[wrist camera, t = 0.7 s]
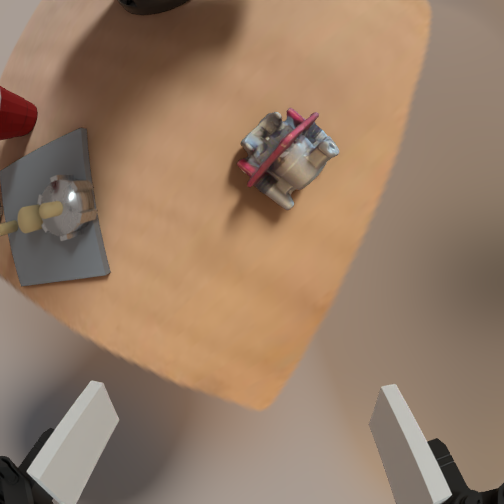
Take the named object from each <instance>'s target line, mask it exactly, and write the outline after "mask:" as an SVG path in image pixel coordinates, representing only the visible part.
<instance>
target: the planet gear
mask: <svg viewBox="0 0 504 504" xmlns="http://www.w3.org/2000/svg"><path fill="white" fill-rule="evenodd" d="M1 215H3V207H1V204H0V220H1Z"/></svg>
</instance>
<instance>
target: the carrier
mask: <svg viewBox="0 0 504 504" xmlns="http://www.w3.org/2000/svg"><path fill="white" fill-rule="evenodd" d="M56 175H74V179H78V180H81V181H84V180H89V181H90V182H91V184H92V178H91V170H90V162H89V152H88V142H87V129H84V128H79V129H77V130H75V131H73V132H70V133H68V134H66V135H64V136H62V137H60V138H58V139H56V140H54V141H52V142H50V143H48V144H46V145H44V146H42V147H40V148H38V149H37V150H35V151H33V152H31V153H29V154H28V155H26V156H24V157H22V158H21V159H19V160H17V161H16V162H14V163H12V164H11V165H9V166H7V167H6V168H4V169H3V170H1V171H0V181H1V191H2V200H3V207H4V214H5V220H6V223H2V224H0V236H2V235H6V234H8V237H9V241H10V246H11V250H12V255H13V259H14V263H15V266H16V270H17V274H18V277H19V281H20V284H21V286H28V285H36V284H43V283H51V282H59V281H66V280H74V279H81V278H89V277H96V276H104V275H107V274H108V273H110V268H109V264H108V260H107V256H106V252H105V248H104V244H103V239H102V235H101V230H100V225H99V220H98V215H96V219H95V220H92V221H90V222H89V224H88V225H87V226H86V227H85V228H83V229H82V230H83V234H82V235H79V236H76V237H73V238H71V239H68V240H64V241H61V240H60V236H56V235H54V234H52V233H51V232H48V233H45V231H44V230H43V228H42V226H41V225H42V224H43V220H42V218H43V219H47V218H51V217H55V216H59V215H61V214H62V211H63V206H62V203H61V202H60V201H54V202H48V203H43V204H41V205H39V204H37V203H38V198H39V194H43V192H44V190H45V188H46V187H47V186H48V185H49V184H50V183H51V182H50V178H51V177H53V176H56ZM91 192H92V195H93V199H94V209H96V204H95V198H94V191H93V189H92V190H91Z"/></svg>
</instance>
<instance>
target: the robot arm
mask: <svg viewBox="0 0 504 504" xmlns="http://www.w3.org/2000/svg"><path fill="white" fill-rule="evenodd" d="M118 1H119V3H120V4H121V5H122V6H123V7H124V8H125V9H126V10H127V11H128V12H131V13H133V14H139V15H148V14H155V13H160V12H163V11H167V10H169V9H172V8H175V7H177V6H179V5H181V4H183V3H185V2H186V1H188V0H118ZM118 421H119V418H118V416H117V414H116V412H115V409H114V407H113V405H112V403H111V401H110V398H109V396H108V393H107V391H106V389H105V386H104V384H103V383H101V382H96V381H91V382H90V383H89V384H88V385H87V387H86V388H85V390H84V391H83V392H82V393H81V395H80V396H79V397H78V399H77V400H76V401H75V403H74V404H73V406H72V407H71V408H70V410H69V411H68V412H67V414H66V415H65V417H64V418H63V419H62V421H61V422H60V423H59V425H58V426H57V427H56V429H52V428H50V429H48V430H47V431H45V432H44V433H43V434H42V435H41V437H40V438H39V440H38V442H36V444H35V445H34V447H33V448H32V449H31V451H30V452H29V454H28V455H27V456H26V458H25V459H24V461H23V462H22V464H21V465H20V466H19V467H18V468H17V467H16V466H15V464H14V463H13V462H12V461H11V460H10V459H9V458H8V457H5V456H0V504H53V502H52V499H53V498H54V499H55V500H56V501H57V502H58V503H59V504H76V503H77V501H78V499H79V497H80V495H81V493H82V490H83V489H84V487H85V485H86V483H87V481H88V478H89V477H90V475H91V473H92V471H93V469H94V467H95V465H96V463H97V461H98V459H99V457H100V455H101V453H102V451H103V450H104V447H105V445H106V444H107V442H108V440H109V438H110V436H111V434H112V433H113V431H114V429H115V427H116V425H117V423H118ZM369 426H370V429H371V432H372V434H373V437H374V440H375V443H376V445H377V448H378V451H379V454H380V457H381V460H382V463H383V466H384V469H385V472H386V474H387V477H388V481H389V483H390V487H391V490H392V493H393V496H394V499H395V502H396V504H504V483H503V484H502V485H501V486H500V487H499V488H497V489H493V490H489V491H485V492H477V491H475V490H470V489H469V488H468V486H467V485H466V483H465V481H464V479H463V477H462V475H461V473H460V471H459V469H458V467H457V466H456V463H455V462H454V460H453V458H452V456H451V455H450V452H449V451H448V449H447V447H446V445H445V444H444V443H442V442H441V441H440V440H439V439H437V438H436V439H434V440H431V441H428V442H427V441H426V439H425V438H424V435H423V433H422V431H421V429H420V428H419V426H418V424H417V422H416V420H415V418H414V416H413V414H412V413H411V411H410V409H409V407H408V405H407V404H406V402H405V400H404V398H403V396H402V394H401V393H400V391H399V389H398V387H397V386H396V384H392V385H387V386H382V387H381V389H380V392H379V395H378V398H377V402H376V405H375V408H374V411H373V414H372V417H371V420H370V423H369Z"/></svg>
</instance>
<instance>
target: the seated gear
mask: <svg viewBox="0 0 504 504" xmlns="http://www.w3.org/2000/svg"><path fill="white" fill-rule="evenodd" d="M50 182H51V183H50V184H49V185H48V186H47V187H46V188H45V190H44V192H43V194H39V198H38V203H37V204H39V205H41V204H43V203H48V202H54V201H60V202H61V203H62V206H63V211H62V214H61V215H59V216H55V217H51V218H47V219H43V218H42V220H43V224H42V225H41V226H42V228H43V230H44V231H45V233H48V232H51V233H52V234H54V235H56V236H60V240H61V241H64V240H68V239H71V238H73V237H76V236H79V235H82V234H83V230H82V229H83V228H85V227H86V226H87V225H88V224H89V222H90V221H92V220H95V219H96V215H97V211H98V210H97V209H94V199H93V195H92V192H91V190H92V189H93V188H94V187H93V185H92V184H91V182H90V181H89V180H84V181H81V180H78V179H74V175H56V176H53V177H51V178H50Z"/></svg>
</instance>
